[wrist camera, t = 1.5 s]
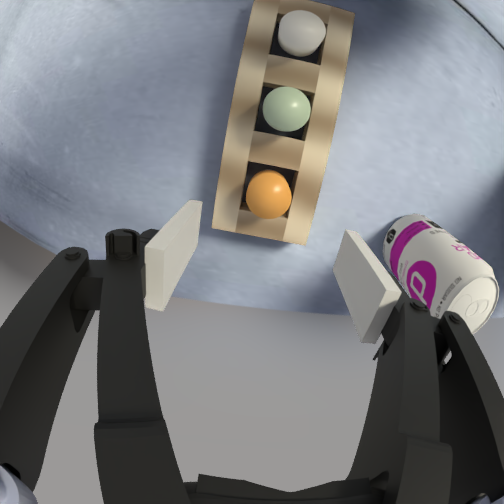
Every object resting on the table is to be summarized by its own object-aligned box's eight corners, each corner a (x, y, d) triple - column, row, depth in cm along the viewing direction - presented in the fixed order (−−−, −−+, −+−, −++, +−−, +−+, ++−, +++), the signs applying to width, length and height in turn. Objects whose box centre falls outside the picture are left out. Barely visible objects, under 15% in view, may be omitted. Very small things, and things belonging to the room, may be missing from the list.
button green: (267, 88, 23) (267, 82, 20) (308, 96, 24) (314, 92, 20) (259, 126, 25) (258, 126, 22) (300, 135, 25) (305, 136, 22)
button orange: (252, 166, 27) (250, 171, 24) (292, 174, 27) (295, 180, 24) (245, 204, 28) (242, 214, 25) (283, 211, 29) (286, 223, 25)
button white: (281, 19, 20) (283, 6, 17) (321, 28, 20) (328, 16, 17) (274, 52, 22) (275, 41, 18) (315, 60, 22) (322, 52, 19)
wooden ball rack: (257, 2, 21) (256, -9, 18) (347, 22, 21) (355, 13, 19) (216, 218, 32) (211, 228, 29) (302, 235, 32) (305, 245, 29)
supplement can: (377, 273, 34) (426, 354, 20) (383, 212, 30) (451, 274, 17) (428, 268, 33) (486, 336, 20) (436, 211, 30) (512, 264, 16)
